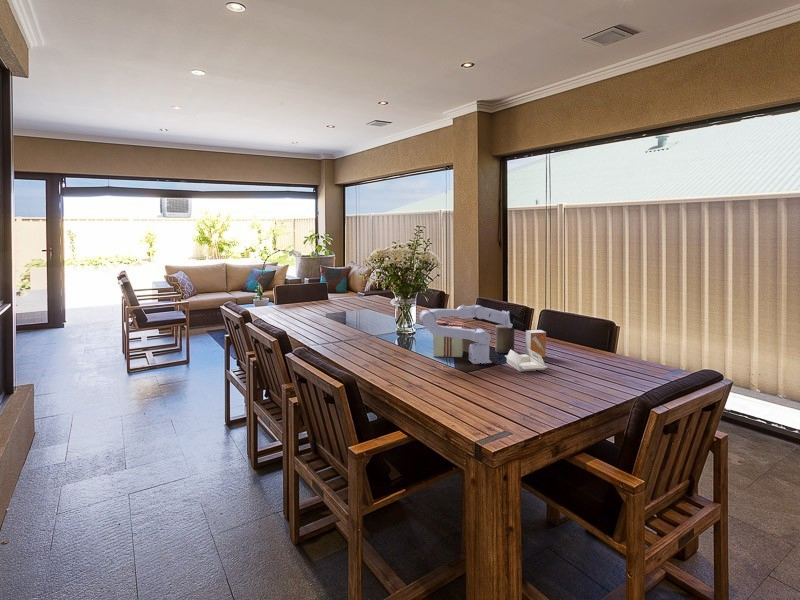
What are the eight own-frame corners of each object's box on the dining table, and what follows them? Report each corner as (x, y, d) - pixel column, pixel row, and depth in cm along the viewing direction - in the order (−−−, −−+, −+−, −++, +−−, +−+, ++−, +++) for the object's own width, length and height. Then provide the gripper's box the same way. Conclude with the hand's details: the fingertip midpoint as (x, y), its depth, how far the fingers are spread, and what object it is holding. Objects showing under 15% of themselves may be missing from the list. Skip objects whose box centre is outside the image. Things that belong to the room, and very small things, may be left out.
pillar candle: (515, 353, 242) (516, 325, 240) (496, 353, 242) (497, 325, 240) (511, 349, 252) (512, 321, 250) (493, 349, 252) (494, 321, 250)
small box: (530, 358, 232) (530, 332, 231) (525, 355, 239) (525, 330, 237) (545, 357, 233) (546, 332, 232) (540, 354, 240) (540, 329, 238)
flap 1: (518, 366, 211) (518, 365, 211) (507, 358, 225) (506, 357, 225) (523, 356, 211) (522, 356, 211) (510, 349, 225) (510, 349, 225)
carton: (523, 374, 207) (523, 368, 207) (503, 360, 230) (503, 355, 229) (548, 372, 209) (548, 367, 209) (526, 359, 232) (526, 354, 231)
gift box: (463, 349, 254) (463, 317, 251) (464, 358, 235) (464, 324, 233) (431, 348, 255) (431, 317, 253) (430, 357, 237) (430, 324, 235)
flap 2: (540, 356, 212) (541, 355, 212) (527, 348, 226) (528, 348, 226) (544, 364, 213) (544, 364, 213) (530, 356, 227) (531, 356, 227)
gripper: (502, 316, 218) (529, 323, 220) (496, 302, 231) (522, 309, 233) (497, 328, 221) (524, 335, 223) (491, 315, 234) (516, 321, 236)
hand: (522, 323), depth 228 cm, fingers open, 7 cm apart
